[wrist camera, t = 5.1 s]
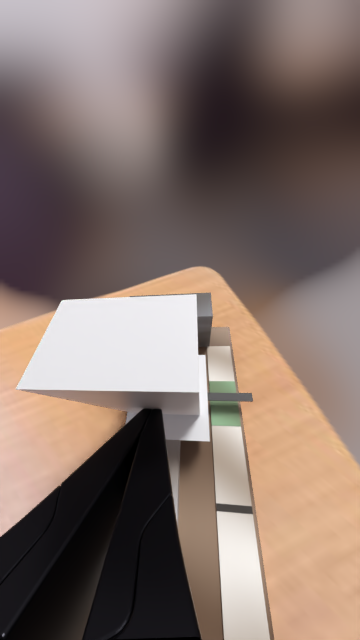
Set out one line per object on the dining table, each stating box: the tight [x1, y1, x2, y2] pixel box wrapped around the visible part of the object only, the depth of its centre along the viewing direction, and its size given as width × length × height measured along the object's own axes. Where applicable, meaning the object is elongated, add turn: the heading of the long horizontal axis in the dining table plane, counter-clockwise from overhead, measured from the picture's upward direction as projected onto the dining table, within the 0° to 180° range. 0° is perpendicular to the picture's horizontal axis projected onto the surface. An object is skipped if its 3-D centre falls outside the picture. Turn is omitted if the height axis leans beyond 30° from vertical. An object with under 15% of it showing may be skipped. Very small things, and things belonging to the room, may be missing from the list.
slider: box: [16, 294, 253, 441], centre depth 8 cm, size 5×8×10 cm, turn 88°
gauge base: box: [130, 293, 274, 640], centre depth 10 cm, size 20×8×6 cm, turn 179°
